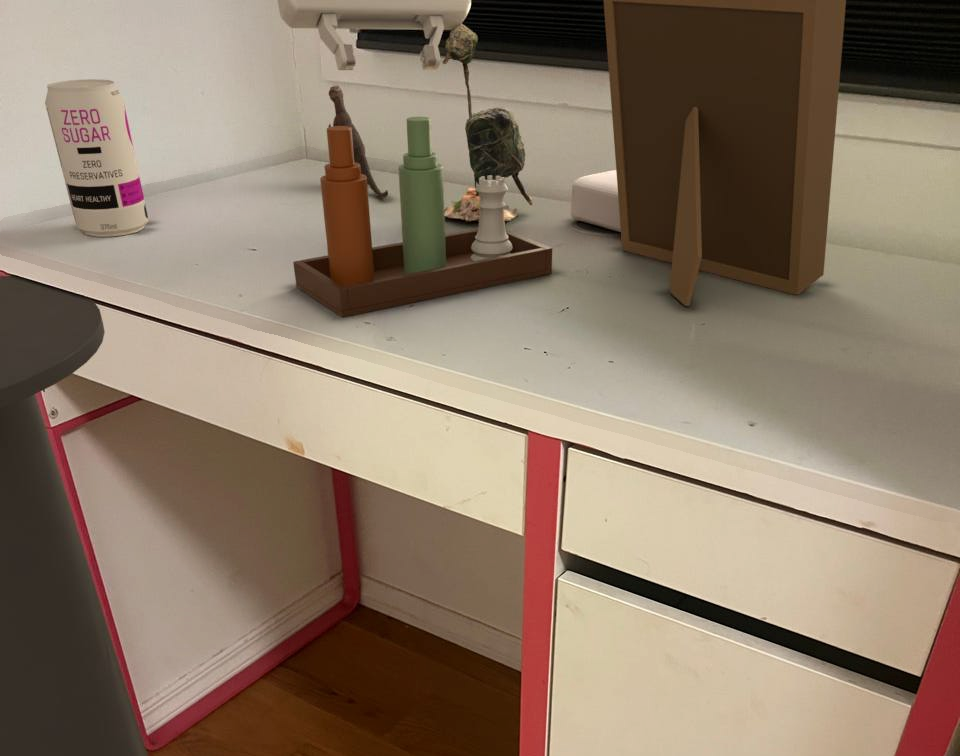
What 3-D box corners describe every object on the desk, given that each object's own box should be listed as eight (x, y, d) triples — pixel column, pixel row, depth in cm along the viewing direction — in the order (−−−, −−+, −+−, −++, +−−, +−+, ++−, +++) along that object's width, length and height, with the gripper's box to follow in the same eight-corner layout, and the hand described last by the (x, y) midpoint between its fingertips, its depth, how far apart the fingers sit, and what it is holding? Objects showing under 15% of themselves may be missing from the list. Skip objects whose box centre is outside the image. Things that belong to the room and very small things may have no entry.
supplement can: (134, 216, 118) (103, 76, 109) (160, 230, 112) (130, 84, 103) (68, 227, 114) (31, 83, 105) (92, 242, 109) (55, 91, 99)
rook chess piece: (490, 271, 97) (490, 185, 92) (461, 261, 99) (459, 178, 94) (522, 261, 99) (523, 178, 94) (493, 253, 102) (492, 171, 97)
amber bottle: (343, 299, 90) (327, 134, 82) (324, 287, 93) (307, 126, 84) (382, 291, 92) (371, 128, 83) (363, 280, 95) (350, 121, 86)
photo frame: (647, 242, 106) (671, -33, 91) (821, 285, 93) (884, -26, 78) (555, 270, 98) (565, -25, 83) (732, 322, 85) (782, -17, 70)
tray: (342, 317, 88) (339, 289, 86) (296, 287, 95) (292, 261, 93) (551, 273, 97) (552, 248, 96) (495, 249, 105) (495, 225, 103)
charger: (664, 248, 104) (570, 221, 113) (719, 233, 108) (624, 208, 118) (669, 202, 101) (572, 178, 110) (726, 188, 106) (628, 166, 115)
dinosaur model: (337, 81, 125) (401, 102, 116) (346, 177, 133) (407, 204, 124) (310, 86, 123) (373, 108, 114) (321, 183, 131) (381, 210, 122)
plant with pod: (504, 233, 110) (505, 27, 97) (429, 218, 115) (421, 22, 103) (544, 218, 115) (550, 21, 102) (471, 204, 120) (468, 16, 108)
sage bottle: (417, 284, 93) (409, 124, 85) (397, 273, 96) (387, 117, 88) (454, 277, 95) (449, 119, 87) (433, 266, 98) (427, 113, 90)
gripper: (266, -100, 91) (299, 49, 92) (460, -88, 98) (489, 50, 100) (255, -56, 96) (286, 84, 98) (439, -48, 104) (466, 82, 105)
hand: (390, 67), depth 99 cm, fingers open, 8 cm apart
